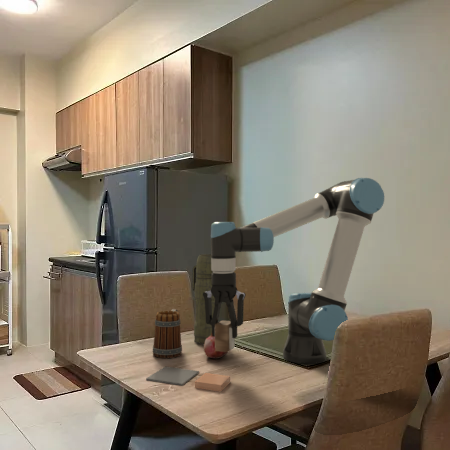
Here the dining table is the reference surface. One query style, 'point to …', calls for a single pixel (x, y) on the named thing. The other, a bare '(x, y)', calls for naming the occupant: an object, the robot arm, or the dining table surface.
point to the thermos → (199, 287)
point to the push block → (222, 336)
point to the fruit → (212, 348)
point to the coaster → (173, 375)
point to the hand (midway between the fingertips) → (224, 347)
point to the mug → (167, 335)
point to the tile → (212, 382)
